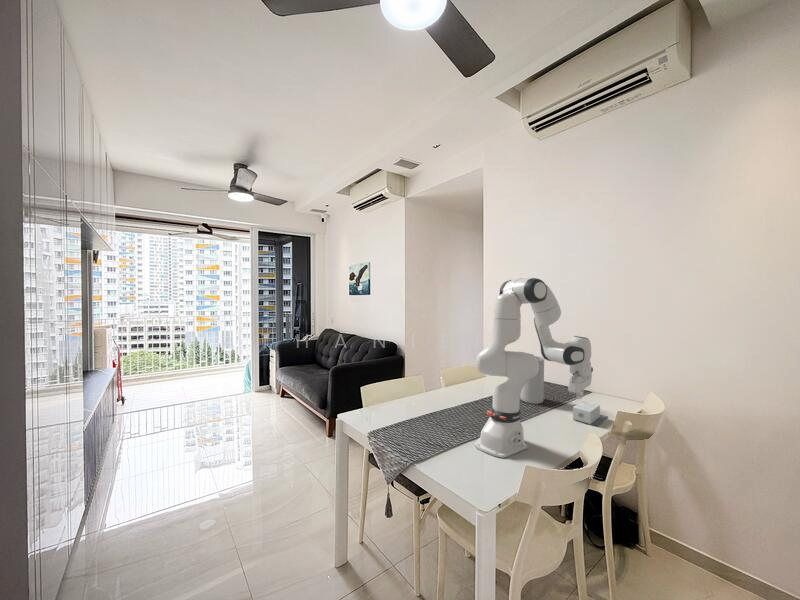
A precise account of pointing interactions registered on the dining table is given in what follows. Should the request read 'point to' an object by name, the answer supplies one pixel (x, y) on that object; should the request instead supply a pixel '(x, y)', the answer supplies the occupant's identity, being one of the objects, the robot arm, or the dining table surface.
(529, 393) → the cylinder vase
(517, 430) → the robot arm
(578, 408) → the small box
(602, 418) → the mat
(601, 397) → the dining table surface
